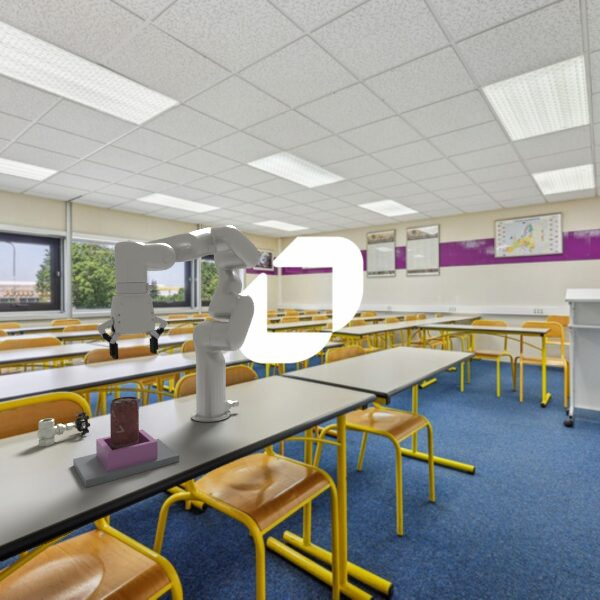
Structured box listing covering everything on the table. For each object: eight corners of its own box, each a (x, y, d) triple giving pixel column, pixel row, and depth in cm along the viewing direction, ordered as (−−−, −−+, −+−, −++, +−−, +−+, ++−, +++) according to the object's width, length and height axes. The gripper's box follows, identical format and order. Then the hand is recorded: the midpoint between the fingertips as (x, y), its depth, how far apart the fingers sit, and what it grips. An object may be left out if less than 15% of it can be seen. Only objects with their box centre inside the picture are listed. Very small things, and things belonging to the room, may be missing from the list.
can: (136, 462, 89) (135, 401, 89) (107, 464, 88) (106, 403, 88) (142, 452, 95) (142, 395, 95) (115, 453, 94) (115, 396, 94)
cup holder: (158, 444, 104) (158, 423, 104) (179, 461, 93) (178, 438, 93) (73, 465, 91) (73, 442, 91) (85, 487, 80) (85, 461, 80)
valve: (42, 449, 101) (90, 436, 110) (42, 424, 101) (90, 413, 110) (33, 444, 105) (80, 431, 114) (33, 419, 105) (79, 409, 114)
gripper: (159, 289, 108) (162, 349, 109) (91, 291, 97) (94, 358, 97) (170, 289, 102) (173, 353, 103) (99, 291, 91) (102, 363, 92)
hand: (134, 355), depth 100 cm, fingers open, 9 cm apart
